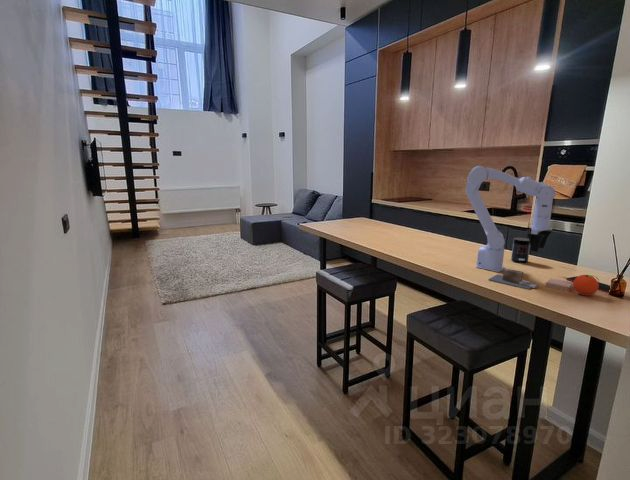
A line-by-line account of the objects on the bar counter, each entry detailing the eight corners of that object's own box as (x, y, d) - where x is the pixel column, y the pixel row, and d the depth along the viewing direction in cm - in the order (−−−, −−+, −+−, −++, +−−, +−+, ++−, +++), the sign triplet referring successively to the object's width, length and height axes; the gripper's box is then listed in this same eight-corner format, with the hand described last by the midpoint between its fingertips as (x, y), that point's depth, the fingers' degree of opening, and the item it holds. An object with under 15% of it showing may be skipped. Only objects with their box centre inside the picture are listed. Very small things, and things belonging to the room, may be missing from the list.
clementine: (588, 290, 124) (592, 271, 122) (605, 298, 117) (609, 277, 115) (566, 291, 123) (569, 271, 122) (582, 298, 117) (585, 278, 115)
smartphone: (608, 291, 122) (564, 278, 135) (607, 294, 122) (564, 280, 135) (621, 288, 124) (577, 275, 138) (621, 291, 124) (577, 278, 138)
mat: (488, 280, 135) (488, 279, 135) (497, 275, 141) (497, 274, 141) (528, 289, 125) (529, 288, 125) (536, 283, 131) (537, 282, 130)
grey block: (501, 280, 133) (502, 270, 132) (506, 277, 136) (507, 267, 135) (534, 287, 125) (535, 277, 124) (538, 284, 128) (539, 274, 127)
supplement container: (524, 259, 163) (527, 237, 160) (530, 263, 156) (533, 241, 154) (508, 259, 164) (511, 237, 161) (514, 263, 157) (517, 240, 155)
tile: (546, 282, 128) (569, 287, 123) (551, 278, 132) (573, 282, 128) (545, 287, 128) (568, 292, 123) (550, 283, 133) (572, 287, 128)
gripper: (548, 219, 131) (543, 254, 134) (559, 215, 140) (554, 248, 143) (527, 217, 136) (522, 251, 139) (538, 213, 145) (534, 245, 148)
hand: (537, 249), depth 141 cm, fingers open, 7 cm apart
